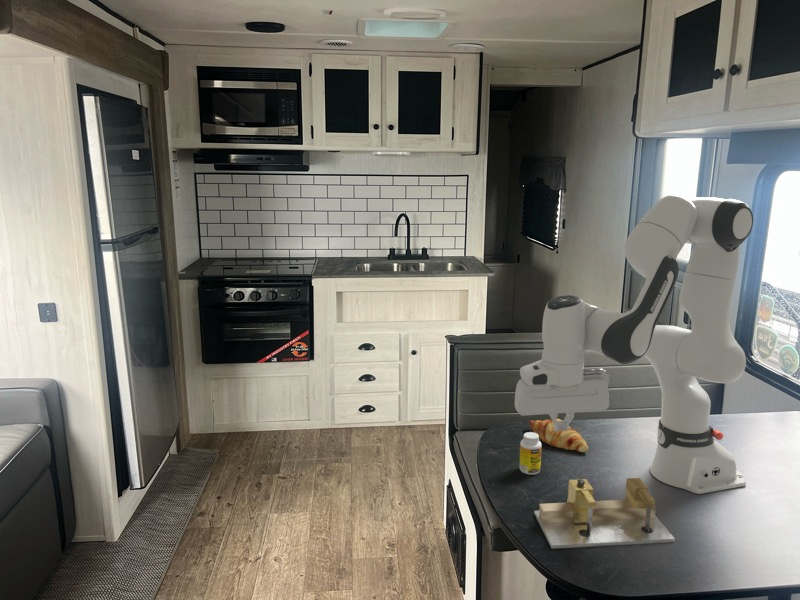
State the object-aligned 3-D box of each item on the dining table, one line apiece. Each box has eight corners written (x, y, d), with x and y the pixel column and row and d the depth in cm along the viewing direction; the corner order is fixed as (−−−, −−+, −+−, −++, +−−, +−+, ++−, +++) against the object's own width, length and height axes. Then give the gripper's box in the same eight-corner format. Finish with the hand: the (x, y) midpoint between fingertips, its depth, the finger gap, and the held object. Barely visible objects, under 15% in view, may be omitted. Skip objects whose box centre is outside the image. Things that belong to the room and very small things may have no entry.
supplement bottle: (530, 477, 154) (531, 441, 152) (515, 469, 159) (515, 434, 156) (545, 471, 157) (546, 436, 155) (529, 463, 162) (531, 428, 159)
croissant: (592, 462, 168) (602, 436, 169) (574, 457, 162) (584, 430, 163) (534, 436, 185) (543, 412, 185) (516, 430, 178) (525, 405, 179)
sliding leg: (583, 508, 138) (585, 475, 136) (599, 533, 128) (601, 497, 126) (566, 509, 137) (568, 475, 135) (581, 534, 128) (583, 498, 126)
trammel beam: (647, 508, 138) (649, 477, 136) (666, 531, 129) (669, 499, 127) (538, 513, 137) (539, 482, 135) (550, 538, 128) (551, 504, 126)
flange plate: (646, 508, 139) (646, 504, 139) (674, 541, 127) (675, 538, 127) (534, 513, 138) (534, 510, 138) (551, 548, 125) (551, 544, 125)
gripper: (604, 363, 131) (601, 421, 134) (512, 368, 130) (512, 426, 133) (615, 373, 124) (612, 433, 128) (520, 378, 123) (519, 439, 127)
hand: (560, 429), depth 130 cm, fingers closed
